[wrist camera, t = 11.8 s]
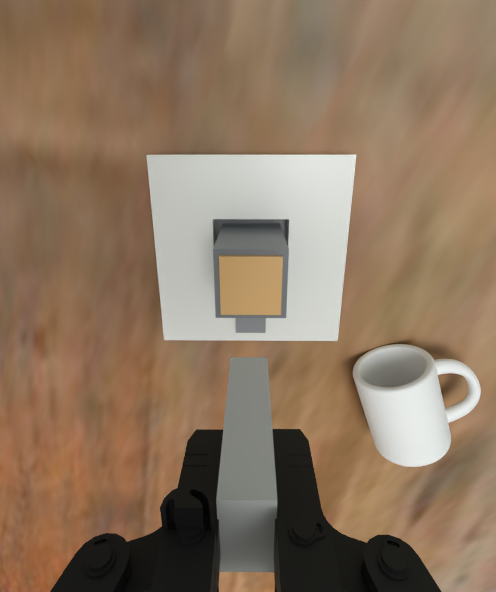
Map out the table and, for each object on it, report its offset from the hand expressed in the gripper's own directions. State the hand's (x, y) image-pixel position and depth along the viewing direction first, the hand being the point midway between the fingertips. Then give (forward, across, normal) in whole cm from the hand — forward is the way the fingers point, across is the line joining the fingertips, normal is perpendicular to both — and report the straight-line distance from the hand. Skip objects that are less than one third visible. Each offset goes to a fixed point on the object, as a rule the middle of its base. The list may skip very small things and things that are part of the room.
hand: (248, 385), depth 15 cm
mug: (+24, +18, -16) cm, 33 cm away
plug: (+23, 0, 0) cm, 23 cm away
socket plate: (+23, 0, 0) cm, 23 cm away
